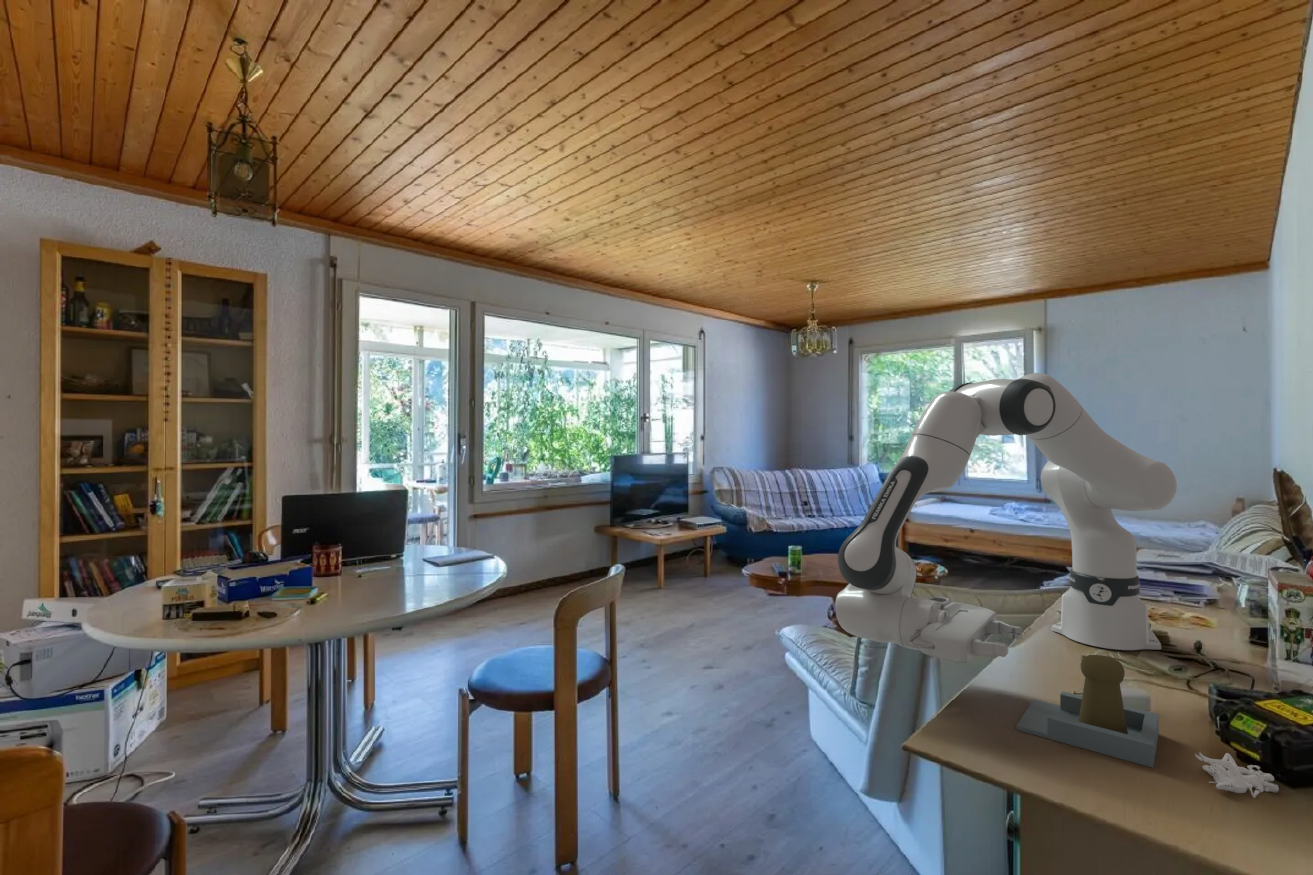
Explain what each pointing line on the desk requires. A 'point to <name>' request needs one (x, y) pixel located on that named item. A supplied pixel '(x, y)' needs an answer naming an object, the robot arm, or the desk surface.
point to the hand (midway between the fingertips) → (1014, 641)
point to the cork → (1102, 693)
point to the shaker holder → (1094, 729)
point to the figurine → (1238, 776)
